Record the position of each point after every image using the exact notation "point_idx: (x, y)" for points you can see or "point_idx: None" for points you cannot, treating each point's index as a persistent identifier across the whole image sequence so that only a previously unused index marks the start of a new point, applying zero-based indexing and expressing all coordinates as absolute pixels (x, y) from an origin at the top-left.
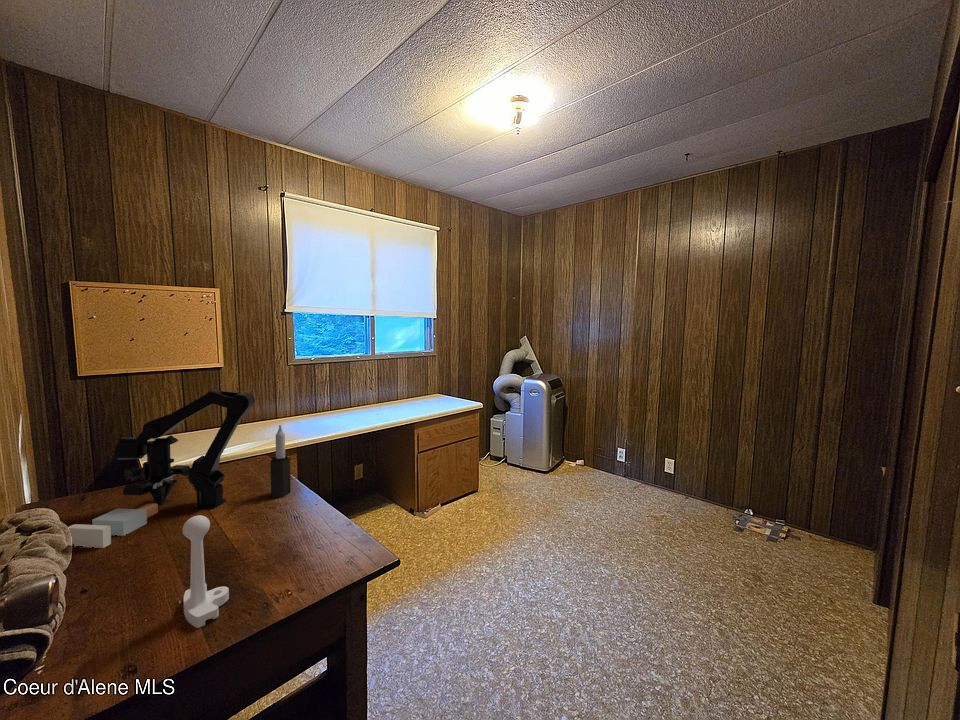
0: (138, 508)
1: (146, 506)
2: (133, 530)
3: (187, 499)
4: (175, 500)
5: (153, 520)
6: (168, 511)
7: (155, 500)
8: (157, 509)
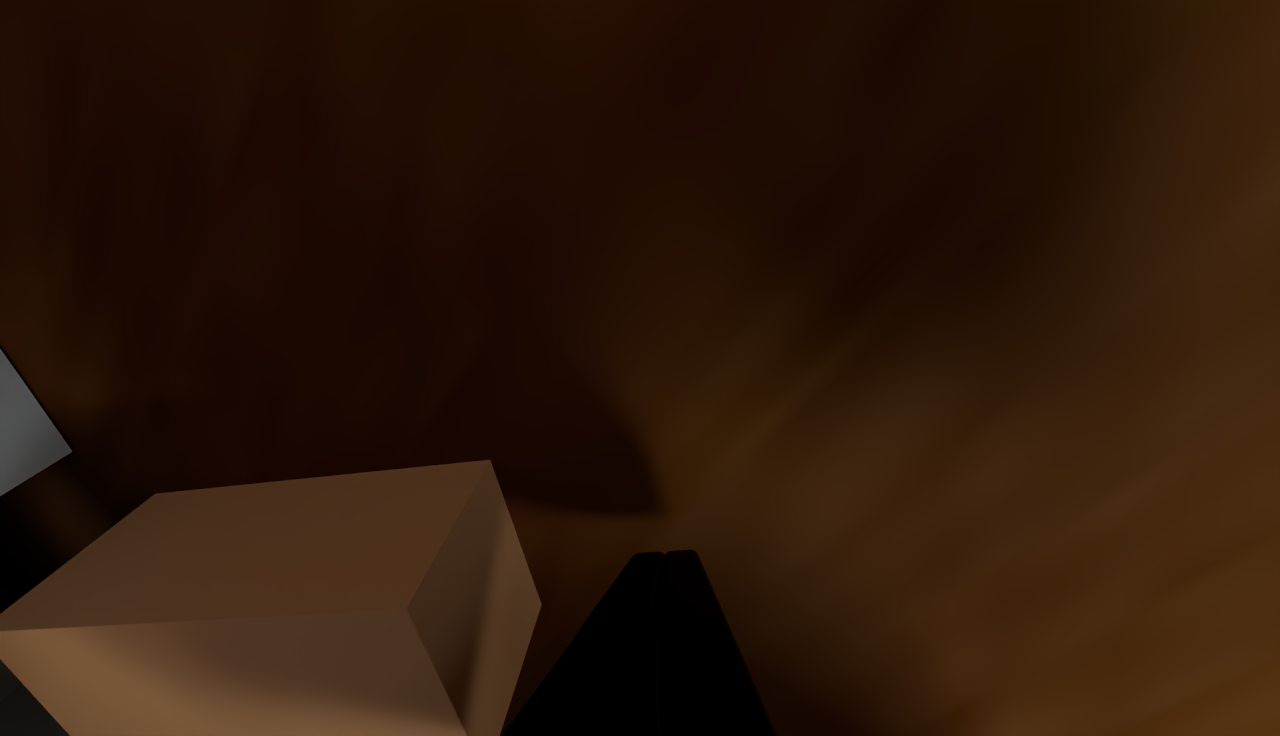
0: (142, 640)
1: (287, 700)
2: None
3: (1161, 646)
4: (1110, 480)
5: None
6: None
7: (561, 669)
8: (518, 654)
